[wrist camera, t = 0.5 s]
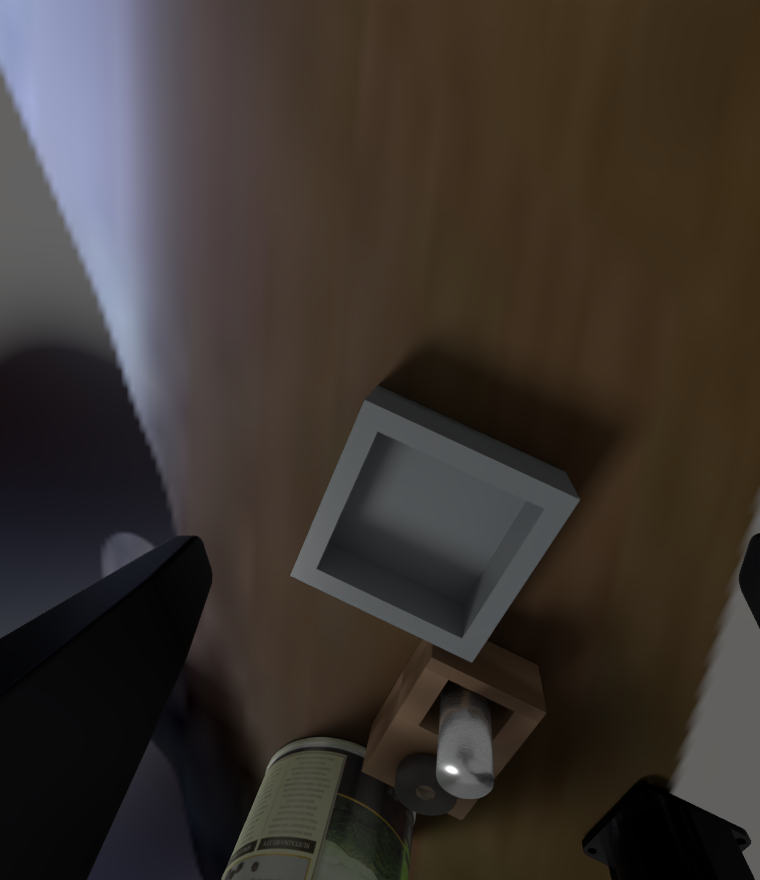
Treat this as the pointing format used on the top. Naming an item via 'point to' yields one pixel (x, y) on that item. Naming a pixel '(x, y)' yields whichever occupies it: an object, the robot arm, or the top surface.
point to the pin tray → (432, 523)
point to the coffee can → (323, 819)
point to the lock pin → (464, 743)
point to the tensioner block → (418, 713)
